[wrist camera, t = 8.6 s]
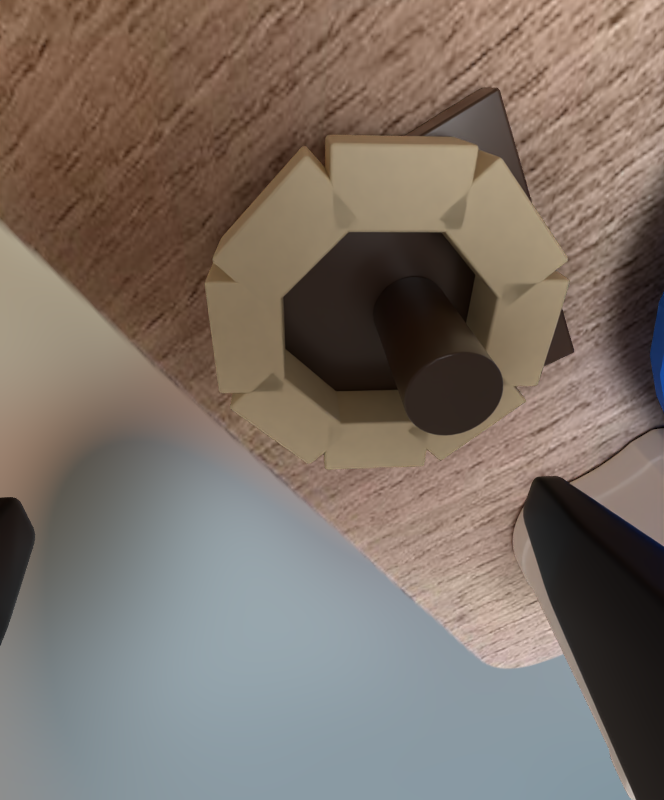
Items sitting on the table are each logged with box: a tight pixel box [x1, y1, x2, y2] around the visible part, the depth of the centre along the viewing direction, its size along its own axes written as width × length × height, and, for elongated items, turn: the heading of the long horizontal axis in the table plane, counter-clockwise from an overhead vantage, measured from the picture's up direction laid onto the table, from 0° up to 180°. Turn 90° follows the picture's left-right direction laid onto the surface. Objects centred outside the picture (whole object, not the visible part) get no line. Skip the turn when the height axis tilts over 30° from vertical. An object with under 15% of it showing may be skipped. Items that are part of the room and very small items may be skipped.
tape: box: [204, 135, 570, 470], centre depth 14 cm, size 10×10×2 cm
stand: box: [283, 87, 574, 436], centre depth 14 cm, size 9×9×6 cm
